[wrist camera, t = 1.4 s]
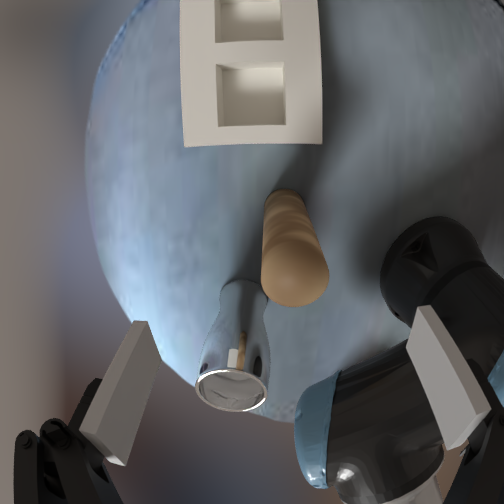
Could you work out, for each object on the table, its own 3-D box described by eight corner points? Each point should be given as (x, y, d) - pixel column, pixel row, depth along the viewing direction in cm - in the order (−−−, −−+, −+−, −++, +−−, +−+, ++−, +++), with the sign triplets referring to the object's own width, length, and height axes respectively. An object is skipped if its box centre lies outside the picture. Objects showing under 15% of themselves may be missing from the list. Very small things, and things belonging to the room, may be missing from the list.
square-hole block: (307, -4, 22) (314, -25, 17) (312, 139, 29) (322, 144, 24) (194, 0, 22) (180, -18, 17) (198, 141, 30) (184, 147, 25)
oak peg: (304, 188, 31) (332, 247, 18) (303, 226, 33) (325, 306, 20) (263, 188, 32) (260, 247, 18) (264, 226, 33) (261, 307, 20)
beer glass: (227, 324, 40) (211, 416, 26) (207, 283, 37) (179, 373, 24) (277, 313, 39) (279, 407, 25) (260, 269, 36) (256, 361, 22)
